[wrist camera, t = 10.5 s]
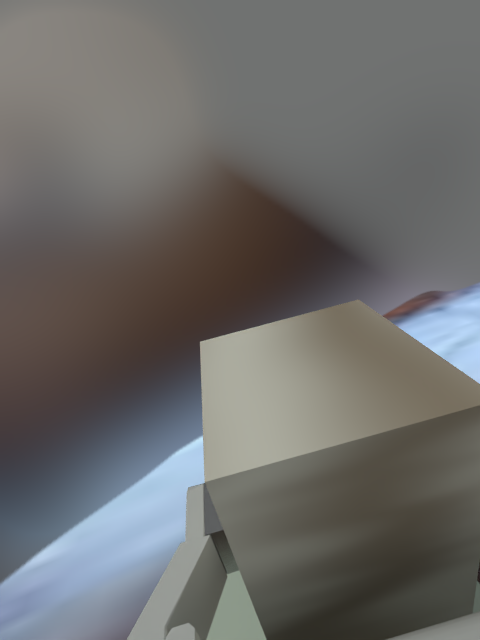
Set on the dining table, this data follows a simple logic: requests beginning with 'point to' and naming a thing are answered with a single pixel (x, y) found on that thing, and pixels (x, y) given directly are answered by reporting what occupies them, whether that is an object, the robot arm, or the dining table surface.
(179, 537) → the dining table surface
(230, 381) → the cream block
